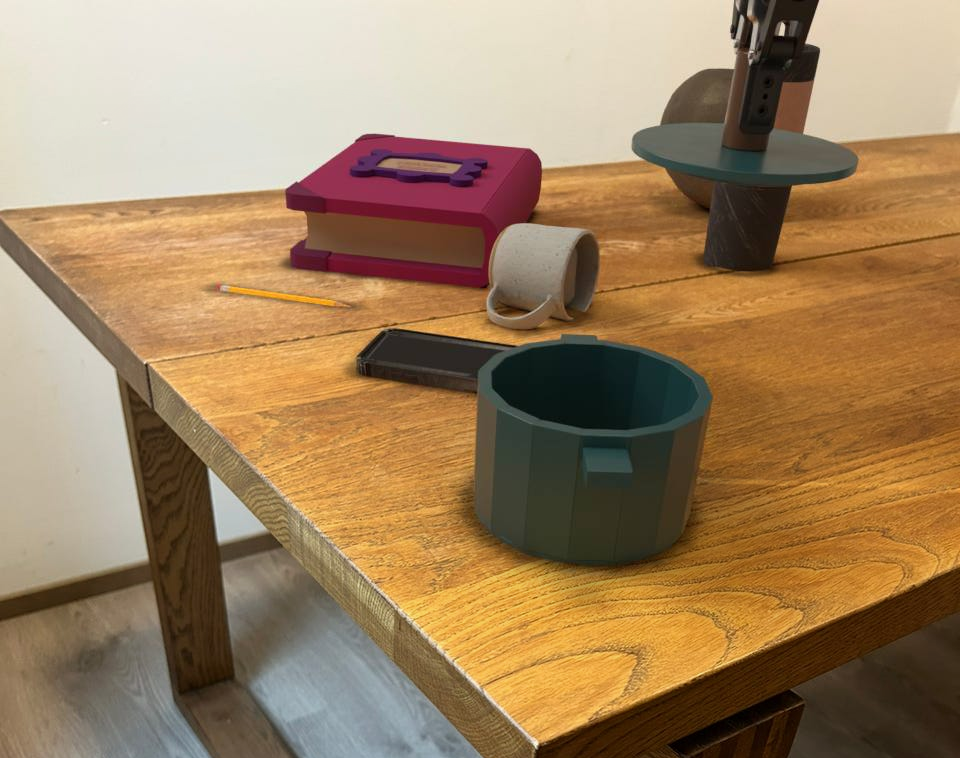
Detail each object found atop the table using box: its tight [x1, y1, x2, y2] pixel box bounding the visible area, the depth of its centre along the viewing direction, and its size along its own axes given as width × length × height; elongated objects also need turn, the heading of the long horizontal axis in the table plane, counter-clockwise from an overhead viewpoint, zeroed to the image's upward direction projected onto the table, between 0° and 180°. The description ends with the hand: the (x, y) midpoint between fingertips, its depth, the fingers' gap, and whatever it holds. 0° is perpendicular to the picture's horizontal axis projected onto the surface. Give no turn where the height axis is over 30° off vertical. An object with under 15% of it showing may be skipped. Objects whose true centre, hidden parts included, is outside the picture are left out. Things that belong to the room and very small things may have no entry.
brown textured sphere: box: [659, 67, 734, 210], centre depth 117 cm, size 14×14×15 cm
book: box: [284, 133, 543, 289], centre depth 105 cm, size 21×28×8 cm
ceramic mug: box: [485, 222, 601, 330], centre depth 88 cm, size 11×8×8 cm
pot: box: [472, 333, 714, 566], centre depth 61 cm, size 14×19×8 cm
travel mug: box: [702, 43, 821, 272], centre depth 98 cm, size 8×8×20 cm
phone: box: [355, 327, 518, 394], centre depth 80 cm, size 8×1×15 cm
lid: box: [630, 48, 860, 187], centre depth 65 cm, size 15×15×7 cm
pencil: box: [214, 284, 351, 308], centre depth 91 cm, size 1×13×1 cm, turn 75°
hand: (748, 125), depth 65 cm, fingers closed on lid, 3 cm apart
